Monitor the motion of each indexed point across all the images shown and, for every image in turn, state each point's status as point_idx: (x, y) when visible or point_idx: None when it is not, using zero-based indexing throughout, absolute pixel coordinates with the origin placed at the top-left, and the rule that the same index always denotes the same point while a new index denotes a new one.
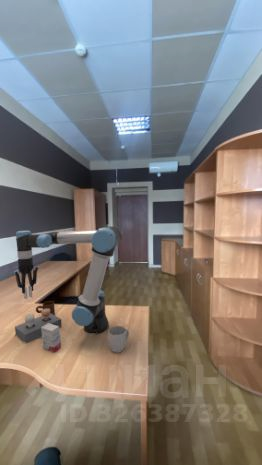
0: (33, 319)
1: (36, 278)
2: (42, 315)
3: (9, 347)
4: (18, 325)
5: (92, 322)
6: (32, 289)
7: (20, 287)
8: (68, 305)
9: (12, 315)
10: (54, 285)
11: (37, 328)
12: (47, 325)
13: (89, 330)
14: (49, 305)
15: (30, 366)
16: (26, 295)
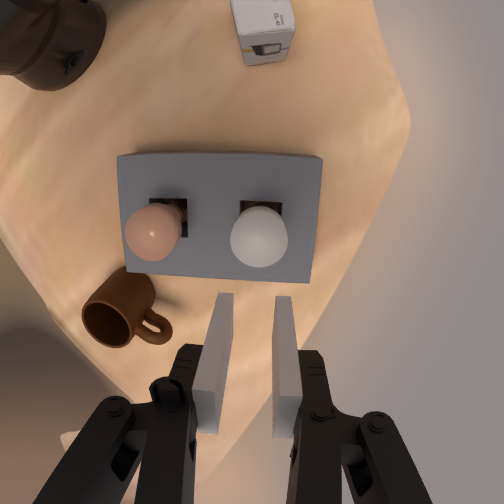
0: (248, 210)
1: (63, 458)
2: (181, 226)
3: (367, 189)
4: (294, 278)
5: (71, 2)
6: (188, 357)
7: (378, 417)
8: (49, 301)
9: (236, 401)
10: (67, 437)
11: (249, 164)
12: (260, 13)
13: (98, 13)
14: (107, 301)
15: (369, 14)
16: (286, 318)
